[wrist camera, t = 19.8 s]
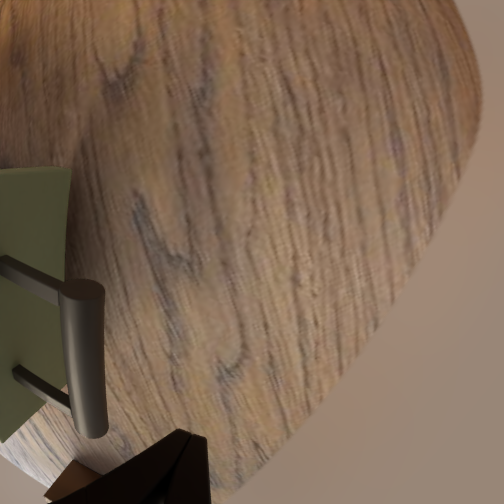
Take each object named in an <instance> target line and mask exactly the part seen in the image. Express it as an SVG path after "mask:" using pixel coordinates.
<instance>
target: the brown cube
mask: <svg viewBox="0 0 504 504" xmlns="http://www.w3.org/2000/svg"><path fill="white" fill-rule="evenodd" d="M100 477H102V475H100V474H98V473H96V472H94V471H92V470H90V469H89V468H87V467H85V466H83V465H82V464H80V463H78V462H76V461H75V460H72V461H71V462H70V464H69V465H68V466H67V467H66V469H65V470H64V471H63V472H62V473H61V475H60V476H59V477H58V478H57V480H56V481H55V482H54V483H53V484H52V486H51V487H50V488H49V490H48V491H47V492H46V493H45V495H44V498H45V499H46V501H47V503H50V502H53V501H56V500H58V499H60V498H62V497H65V496H67V495H69V494H71V493H73V492H75V491H77V490H78V489H80V488H82V487H85V488H86V485H88V484H90V483H91V482H93V481H95V480H97V479H98V478H100Z"/></svg>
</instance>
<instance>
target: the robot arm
mask: <svg viewBox="0 0 504 504" xmlns="http://www.w3.org/2000/svg"><path fill="white" fill-rule="evenodd" d="M48 504H211V493H210V480H209V465H208V448H207V439H206V438H205V437H202V436H199V435H196V434H193V435H192V434H191V433H190V432H188V431H185V430H182V429H176V430H174V431H173V432H171V433H170V434H169V435H167V436H166V437H164V438H163V439H161V440H160V441H158V442H157V443H155V444H154V445H152V446H150V447H149V448H147V449H146V450H144V451H143V452H141V453H140V454H138V455H136V456H135V457H133V458H132V459H130V460H128V461H127V462H125V463H124V464H122V465H120V466H119V467H117V468H115V469H114V470H112V471H110V472H109V473H107V474H105V475H104V476H102V477H100V478H98V479H97V480H95V481H93V482H91V483H90V484H88V485H86V488H85V487H82V488H80V489H78V490H77V491H75V492H73V493H71V494H69V495H67V496H65V497H62V498H60V499H58V500H56V501H53V502H50V503H48Z"/></svg>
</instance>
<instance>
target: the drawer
mask: <svg viewBox="0 0 504 504" xmlns="http://www.w3.org/2000/svg"><path fill="white" fill-rule="evenodd" d="M71 176H72V169H69V168H64V167H58V166H43V167H25V168H10V169H0V442H1V443H4V442H5V441H6V440H7V439H8V438H9V437H10V436H11V435H12V434H13V433H14V432H15V431H16V430H18V429H19V428H20V427H21V426H22V425H23V424H24V423H25V422H26V421H27V420H28V419H29V418H30V417H31V416H33V415H34V414H35V413H36V412H37V411H38V410H39V409H40V408H41V407H42V406H43V405H44V404H46V403H49V404H50V405H52V406H54V407H55V408H57V409H58V410H60V411H62V412H63V413H65V414H67V415H68V416H70V417H72V418H73V421H74V425H75V429H76V430H77V432H78V433H79V434H80V435H82V436H84V437H86V438H90V439H96V438H100V437H102V436H104V435H105V434H106V433H107V431H108V429H109V424H108V414H107V401H106V386H105V362H104V306H105V289H104V287H103V286H102V285H101V284H100V283H98V282H96V281H93V280H89V279H71V280H67V281H65V241H66V224H67V212H68V201H69V192H70V183H71ZM66 384H67V387H68V393H69V395H67V394H66V393H64V392H62V391H61V389H62V388H63V387H64V386H65V385H66Z"/></svg>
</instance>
